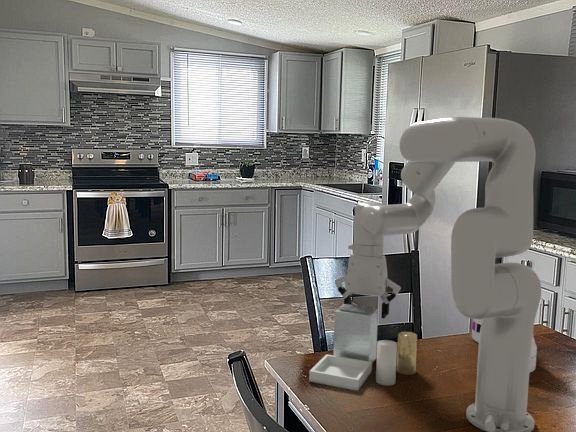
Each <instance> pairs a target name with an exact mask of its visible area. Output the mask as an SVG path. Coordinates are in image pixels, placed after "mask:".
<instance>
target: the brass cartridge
mask: <svg viewBox="0 0 576 432" xmlns="http://www.w3.org/2000/svg"><path fill="white" fill-rule="evenodd" d="M417 346H418V334H417V333H415V332H412V331H401V332H398V335H397V357H396V373H398V374H401V375H406V376H407V375H408V376H409V375H414V374H416V372H417V371H416V367H417V349H418V347H417Z"/></svg>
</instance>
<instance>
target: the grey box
mask: <svg viewBox="0 0 576 432" xmlns="http://www.w3.org/2000/svg"><path fill="white" fill-rule="evenodd" d="M378 317H379V308H378V307H377V308H376V307H371V306H365V305H364V306H363V305H357V304H352V305H350V304H344V303H343V304H342V305H340V306H339V307H337V309H335V310H334V320H333V321H334V322H333V323H334V324H333V328H334V329H333V355H334V356H340V357H345V358H351V359H357V360H363V361H369V362H372V364H373V363H375V361H377V342H378V319H379V318H378Z"/></svg>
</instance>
